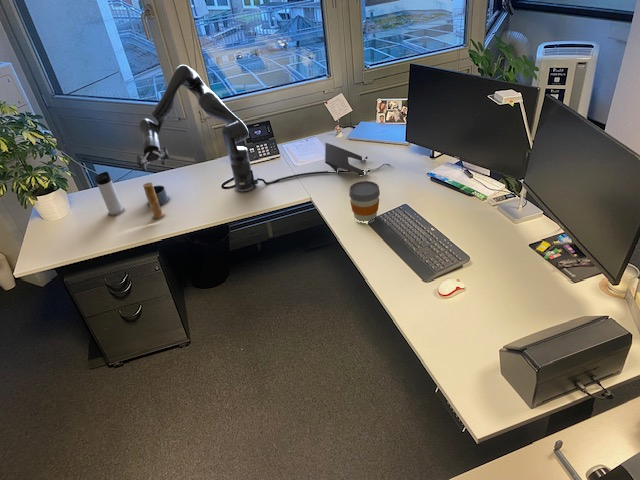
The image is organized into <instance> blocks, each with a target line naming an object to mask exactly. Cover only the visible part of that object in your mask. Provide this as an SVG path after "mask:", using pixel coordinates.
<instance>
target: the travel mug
mask: <svg viewBox="0 0 640 480" xmlns="http://www.w3.org/2000/svg"><path fill="white" fill-rule="evenodd" d="M94 177H95V182H96V185H97V187H98V189H99V193H100V194H101V197H102V199H103V201H104V204H105V206H106V209H107V211H108V213H109V215H110V216H117V215H119V214H121V213H122V212H123V211H124V209H123V206H122V203H121V201H120V198H119V195H118V193H117V191H116V188H115V186H114V183H113V181H112V179H111V176H110V174H109V171H104V172H101V173H99V174H97V175H96V176H94Z"/></svg>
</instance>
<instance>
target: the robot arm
mask: <svg viewBox="0 0 640 480" xmlns="http://www.w3.org/2000/svg"><path fill="white" fill-rule="evenodd" d="M181 86H182V87H184V88H185V89H186V90H189V92H191V93H192V94H193V95H194V96H195V98H196V99H197V103H198V105H199V106H200V108H201V109H202V110H203V111H204V112H205V114H206V115H207V116H208V117H210V118H213V119H215V120H218V121H221V122H224V123H226V124H225V125H223V126H222V127H221V134H222V135H221V136H222V139H223V142H224V145H225V146H224V147H225V149H226V152H227V155H228V158H229V163H230V167H231V172H232V177H233V181H234V184H235V190H236V191H237V192H243V193H244V192H249V191H252V190H253V189H256V185H258V184H259V181H261V182H263V184H265V185H271V184H275V183H277V182H280V181H283V180H287V179H293V178H296V177H301V176H302V177H303V176H309V175H319V174H337V173H336V172H328V171H329V170H323V171H311V172H304V173H297V174H292V175H288V176H284V177H280V178H277V179H275V180H272V181H269V182H268V181H266V180H265V179H264V178H260V177H258V174H254V172H253V171H254V170H253V169H252V166H251V160H250V155H249V150H248V148H247V147H245V146H243V145H242V146H240V145H239V146H238V145H237V143H240V142H243V141H245V140H247V139H248V138H249V136H250V135H249V133H250V132H249V129H248V128H247V126H246V124H245V123H244V122H243V121H242V120H241V119H240V118H238V116H236V114H234V113H233V112H232V111H231V109H229V108H228V107H227V106H226V104H225V103H223V101H222V99H220V98H219V97H218V95H217V94H215V92H213V91H212V90H211V89H210V88H209V87H208V86H207V85H206V83H204V80H202V79H201V77H200V75H199V74H198V73H197V71H195V70H194V69H193V68H191V67H190V66H188V65H186V64H180V65H179V66H177V67H176V69H175V70H174V72H173V74H172V76H171V78H170V80H169V82H168V84H167V86H166V89H165V90H164V93H163V95H162V96H161V98H160V99H159V101H158V103H156V105H155V106H154V107H153V109H152V111H151V116H152V117H153V118H154V119H155V120H156V122H155V121H153V120H151V119H149V118H146V117H143V118H142V119H140V120H139V122H138V131H139V133H140V135H141V137H142V140H143V141H142V149H143V155H142V156H140V155H137V156H136V164H137V166H138V167H139V168H141V169H142V171H143V172H147V171H148V170H147V165H149V164H150V163H151V162H154V161H158V160H159V161H160V162H161V164H162V166H165V165H166V164H167V163H166V160H168V159H170V156H169V151H168V150H167V147H163V149H161V144H160V141H159V136H160V134H161V131H162V128H163V126H164V123H165V121H166V120H167V117H168V116H169V115H170V113H171V112H172V111H173V108H174V107H175V106H174V105H175V101H176V99H175V98H176V95H177V92H178V91H179V88H180V87H181ZM363 171H364V170H363ZM338 173H339V174H341V173H352V172H351V171H343V170H338Z"/></svg>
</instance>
